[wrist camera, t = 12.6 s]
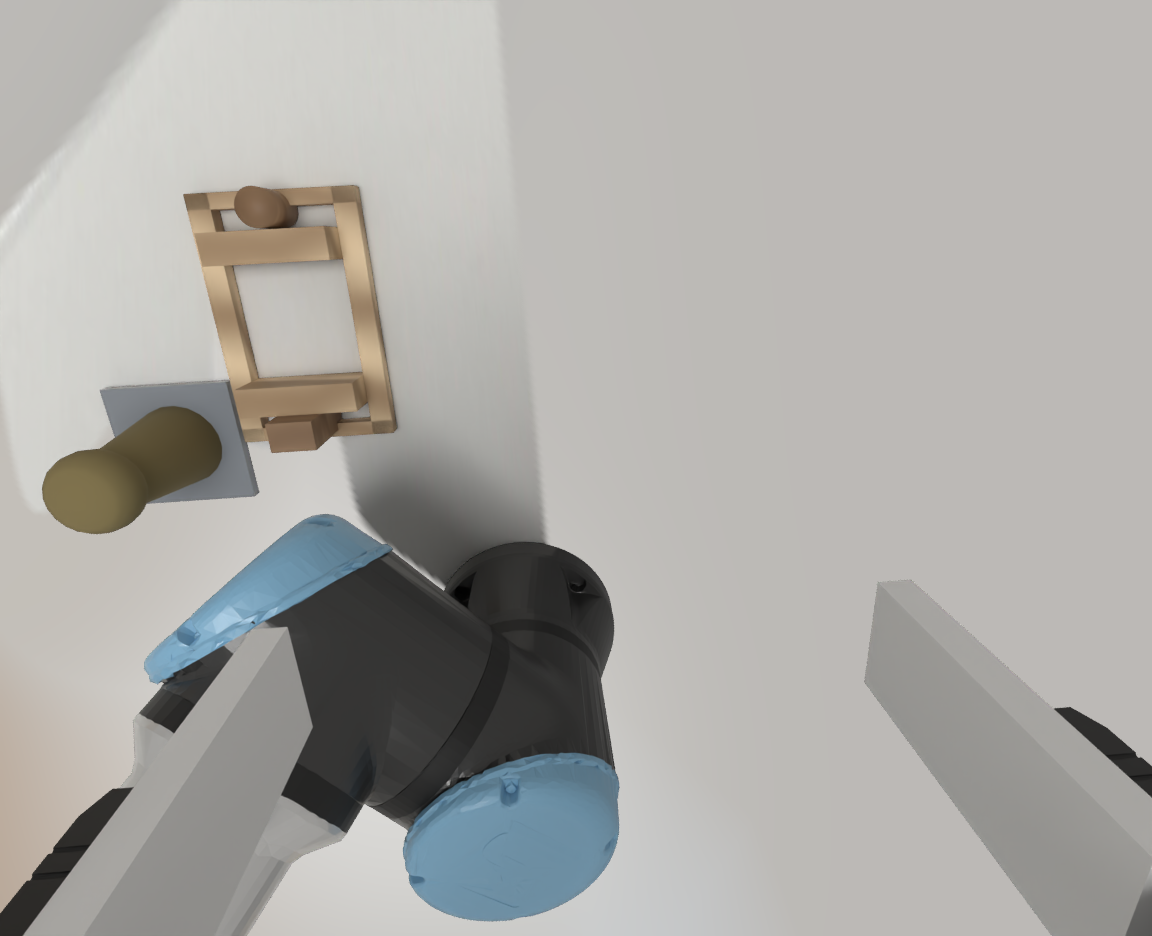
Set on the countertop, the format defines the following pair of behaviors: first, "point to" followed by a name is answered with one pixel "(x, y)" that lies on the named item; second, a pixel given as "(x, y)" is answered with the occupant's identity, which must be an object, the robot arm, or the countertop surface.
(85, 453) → the cork
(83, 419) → the countertop surface
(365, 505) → the countertop surface
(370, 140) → the countertop surface
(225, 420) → the slate coaster
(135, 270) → the countertop surface
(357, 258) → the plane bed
